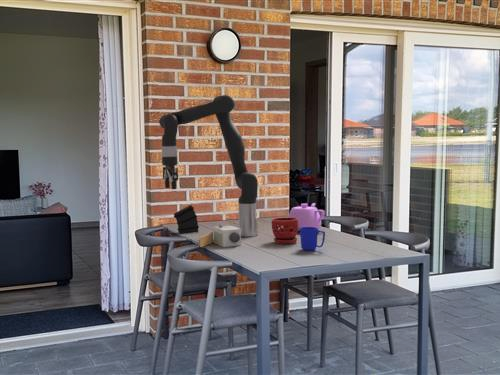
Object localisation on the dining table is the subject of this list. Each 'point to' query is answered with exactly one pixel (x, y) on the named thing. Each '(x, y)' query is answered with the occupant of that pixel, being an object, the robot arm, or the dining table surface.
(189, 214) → the black ridged block
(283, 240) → the plant pot
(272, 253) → the dining table surface
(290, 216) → the teapot
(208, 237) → the tan wooden plank
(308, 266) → the dining table surface
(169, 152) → the robot arm
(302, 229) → the mug
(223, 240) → the camera body
